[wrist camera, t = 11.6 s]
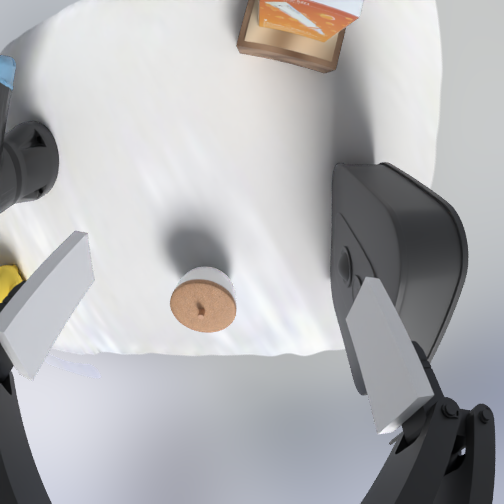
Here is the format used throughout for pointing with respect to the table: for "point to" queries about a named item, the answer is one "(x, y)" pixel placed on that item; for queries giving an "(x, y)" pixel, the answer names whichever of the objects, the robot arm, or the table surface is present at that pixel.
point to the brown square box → (287, 44)
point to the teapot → (8, 279)
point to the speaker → (395, 251)
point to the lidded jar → (204, 300)
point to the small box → (309, 16)
